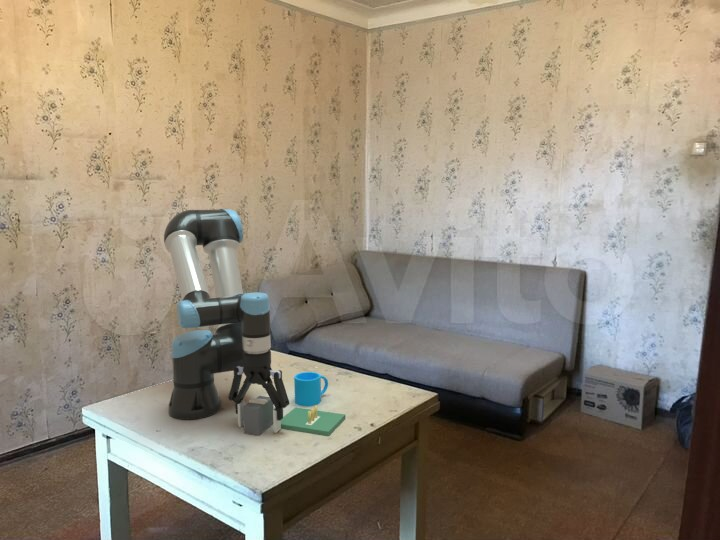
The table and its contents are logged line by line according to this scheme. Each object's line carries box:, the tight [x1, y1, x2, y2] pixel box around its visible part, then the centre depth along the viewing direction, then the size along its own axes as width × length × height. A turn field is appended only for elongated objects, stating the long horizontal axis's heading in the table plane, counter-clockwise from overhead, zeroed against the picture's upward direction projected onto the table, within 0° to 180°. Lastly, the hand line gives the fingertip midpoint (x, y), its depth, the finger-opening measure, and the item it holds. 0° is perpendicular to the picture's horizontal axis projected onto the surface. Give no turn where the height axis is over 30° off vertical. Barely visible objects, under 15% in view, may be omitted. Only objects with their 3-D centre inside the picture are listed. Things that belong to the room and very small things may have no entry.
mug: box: [293, 371, 329, 407], centre depth 170 cm, size 12×8×8 cm
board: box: [281, 405, 346, 437], centre depth 153 cm, size 16×12×5 cm
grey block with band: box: [243, 395, 275, 437], centre depth 150 cm, size 4×8×8 cm, turn 160°
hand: (259, 427), depth 150 cm, fingers open, 10 cm apart
